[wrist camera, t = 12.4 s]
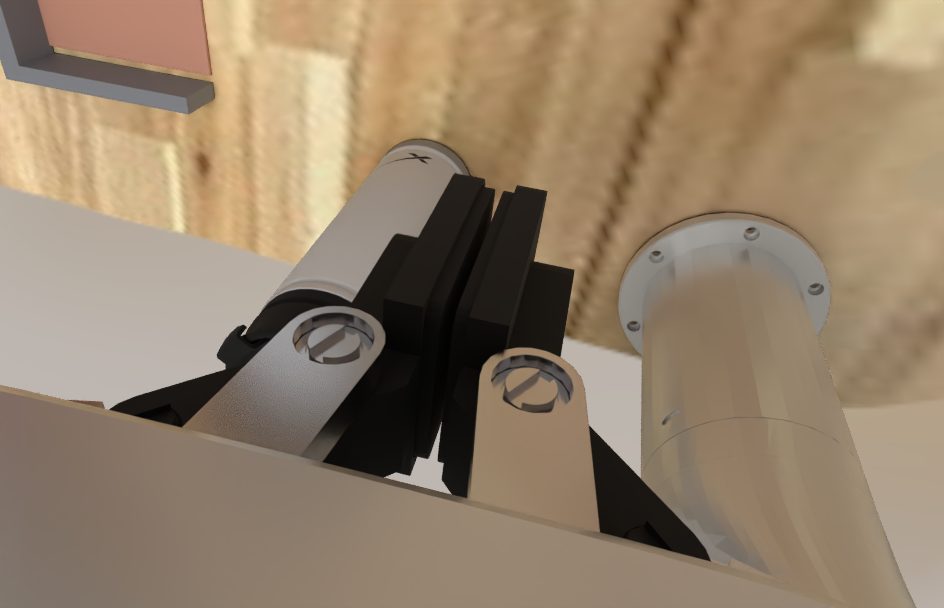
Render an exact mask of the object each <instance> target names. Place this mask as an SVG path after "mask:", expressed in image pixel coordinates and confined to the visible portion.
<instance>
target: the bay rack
mask: <svg viewBox="0 0 944 608" xmlns="http://www.w3.org/2000/svg"><path fill="white" fill-rule="evenodd" d="M53 46H55V47H60V48H65V49H71V50H76V51H81V52H87V53H92V54H97V55H103V56H108V57H113V58H119V59H124V60H130V61H135V62H140V63H146V64H151V65H156V66H162V67H167V68H172V69H178V70H183V71H188V72H194V73H199V74H204V75H212V74H211V66H210V58H209V51H208V43H207V35H206V28H205V20H204V13H203V5H202V0H0V60H1V63H2V66H3V69H4V73H5V76H6V79H10V80H15V81H20V82H25V83H30V84H35V85H40V86H45V87H51V88H56V89H61V90H66V91H71V92H76V93H81V94H87V95H92V96H97V97H102V98H107V99H112V100H117V101H123V102H128V103H133V104H138V105H143V106H148V107H153V108H158V109H164V110H169V111H174V112H179V113H184V114H190V113H192V112H193V111H195V110H197V109H198V108H200V107H201V106H203V105H205V104H206V103H208V102H209V101H211V100H213V99H214V98H215V96H214V89H213V83H212V82H207V81H202V80H196V79H191V78H186V77H180V76H175V75H170V74H164V73H159V72H154V71H148V70H143V69H138V68H133V67H127V66H122V65H117V64H111V63H106V62H101V61H95V60H90V59H85V58H79V57H74V56H69V55H64V54H58V53H54V50H53Z"/></svg>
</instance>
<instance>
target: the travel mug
mask: <svg viewBox="0 0 944 608" xmlns="http://www.w3.org/2000/svg"><path fill="white" fill-rule="evenodd" d="M454 173H457V174H462V175H467V176H470V175H469V173H468V170H467V169H466V167H465V165H464V164H463V162H462V161H461V160H460V159H459V158H458V156H457V155H456V154H454V153H453V152H452V151H451V150H449V149H448V148H446V147H444V146H443V145H441V144H438V143H435V142H433V141H429V140H422V139H418V140H409V141H405V142H402V143H400V144H398V145H396V146H394V147H393V148H392V149H391V150H390V151H388V152H387V154H386V155H385V156H384V157H383V159H382V160H381V161H380V162H379V164H378V165H377V166H376V167H375V169H374V170H373V171H372V172H371V174H370V175H369V176H368V177H367V178H366V180H365V181H364V182H363V183H362V185H361V186H360V187H359V188H358V190H357V191H356V192H355V193H354V195H353V196H352V197H351V198H350V200H349V201H348V202H347V203H346V205H345V206H344V207H343V208H342V210H341V211H340V212H339V213H338V215H337V216H336V217H335V218H334V220H333V221H332V222H331V223H330V224H329V226H328V227H327V228H326V229H325V231H324V232H323V233H322V234H321V236H320V237H319V238H318V239H317V241H316V242H315V243H314V244H313V246H312V247H311V248H310V249H309V251H308V252H307V253H306V254H305V256H304V257H303V258H302V259H301V261H300V262H299V263H298V264H297V266H296V267H295V268H294V269H293V270H292V272H291V273H290V274H289V275H288V277H287V278H286V279H285V280H284V282H283V283H282V284H281V285H280V287H279V288H278V289H277V290H276V292H275V293H274V295H273V296H272V297H271V298H270V299H269V300H268V302H267V303H266V305H265V306H264V307H263V309H262V311H261V313H260V314H259V316H257V318H256V319H255V320H254V321H253V323H252V324H251V325H250V327H249V328H248V330H247V332H246V334H245V335H243V336H241V334H242V333H243V332H244V330H245V329H246V326H245V325H241V326H238V327H237V328H236V329H234V331H232V332H231V333H230V334H229V336H228V337H227V338H226V339H225V341H224V342H223V344H222V346H221V347H220V349H219V351H218V353H217V357H218V359H220V360H221V361H222V362H223V363H225V364H226V369H229V368H232V367H236V366H239V365H242V364H246V363H248V362H249V361H250V360H251V359H252V358H253V357H254V356H255V355H256V354H257V353H258V352H259V351H260V350H261V349H262V348H263V347H264V346H266V345H267V344H268V343H269V342H270V341H271V340H272V339H273V338H274V337H275V336H276V335H277V334H278V333H279V332H280V331H281V330H282V329H283V328H284V327H285V326H286V325H287V324H288V323H289V322H290V321H292V320H293V319H294V318H296V317H297V316H298V315H300V314H302V313H304V312H307V311H310V310H312V309H315V308H321V307H327V306H345V307H349V306H350V304H351V303H352V301H353V299H354V298H355V296H356V295H357V293H358V291H359V290H360V288H361V287H362V285H363V283H364V282H365V280H366V279H367V277H368V275H369V274H370V272H371V271H372V269H373V267H374V266H375V264H376V263H377V261H378V259H379V258H380V256H381V255H382V253H383V251H384V250H385V248H386V247H387V245H388V243H389V242H390V240H391V239H392V237H393V236H394V235H395V234H397V233H400V234H404V235H409V236H414V237H418V236H419V235H420V233H421V231H422V229H423V228H424V226H425V224H426V222H427V220H428V219H429V217H430V215H431V213H432V212H433V210H434V208H435V206H436V204H437V203H438V201H439V199H440V197H441V195H442V194H443V192H444V190H445V188H446V187H447V185H448V183H449V181H450V179H451V178H452V176H453V174H454Z"/></svg>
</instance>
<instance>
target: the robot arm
mask: <svg viewBox="0 0 944 608" xmlns="http://www.w3.org/2000/svg"><path fill="white" fill-rule="evenodd" d="M494 196H495V189H491V188H486V187H485V179H483V178H478V177H473V176H467V175H462V174H457V173H454V174H453V176H452V178H451V179H450V181H449V183H448V185H447V187H446V188H445V190H444V192H443V194H442V195H441V197H440V199H439V201H438V203H437V204H436V206H435V208H434V210H433V212H432V213H431V215H430V217H429V219H428V220H427V222H426V224H425V226H424V228H423V229H422V231H421V233H420V235H419V236H418V237H414V236H409V235H404V234H400V233H397V234H395V235H394V236H393V237H392V239H391V240H390V242H389V243H388V245H387V247H386V248H385V250H384V251H383V253H382V255H381V256H380V258H379V259H378V261H377V263H376V264H375V266H374V267H373V269H372V271H371V272H370V274H369V275H368V277H367V279H366V280H365V282H364V283H363V285H362V287H361V288H360V290H359V291H358V293H357V295H356V296H355V298H354V299H353V301H352V303H351V304H350V306H349V307H345V306H327V307H321V308H315V309H312V310H310V311H307V312H304V313H302V314H300V315H298V316H297V317H296V318H294V319H293V320H292V321H290V322H289V323H288V324H287V325H286V326H285V327H284V328H283V329H282V330H281V331H280V332H279V333H278V334H277V335H276V336H275V337H274V338H273V339H272V340H271V341H270V342H269V343H268V344H267V345H266V346H264V347H263V348H262V349H261V350H260V351H259V352H258V353H257V354H256V355H255V356H254V357H253V358H252V359H251V360H250V361H249V362H248V363H246V364H242V365H239V366H236V367H232V368H229V369H226V370H223V371H219V372H216V373H212V374H209V375H205V376H202V377H199V378H195V379H192V380H189V381H185V382H182V383H179V384H175V385H172V386H169V387H165V388H162V389H158V390H155V391H152V392H149V393H145V394H142V395H138V396H135V397H133V398H130V399H128V400H126V401H123V402H121V403H118V404H117V405H115V406H114V407H112V408H111V409H109V410H107V409H105V408H104V405H103V402H98V401H97V402H96V401H79V400H64V399H60V398H56V397H51V396H47V395H42V394H39V393H34V392H30V391H26V390H21V389H17V388H12V387H7V386H2V385H0V608H916V606H915V604H914V602H913V600H912V598H911V595H910V593H909V591H908V589H907V587H906V585H905V582H904V580H903V578H902V575H901V573H900V570H899V568H898V565H897V562H896V560H895V557H894V555H893V552H892V549H891V547H890V544H889V542H888V539H887V536H886V534H885V531H884V529H883V526H882V524H881V521H880V519H879V516H878V513H877V510H876V507H875V504H874V501H873V498H872V496H871V493H870V490H869V487H868V484H867V481H866V478H865V475H864V473H863V470H862V467H861V463H860V461H859V457H858V454H857V451H856V449H855V445H854V443H853V440H852V437H851V434H850V431H849V428H848V425H847V422H846V419H845V416H844V413H843V410H842V407H841V404H840V401H839V398H838V395H837V392H836V389H835V386H834V384H833V381H832V378H831V375H830V372H829V369H828V366H827V363H826V360H825V357H824V354H823V351H822V348H821V345H820V342H819V339H818V335H819V333H820V332H821V331H822V329H823V327H824V324H825V322H826V319H827V317H828V315H829V309H830V303H831V291H830V281H829V279H828V276H827V273H826V270H825V267H824V265H823V263H822V261H821V260H820V258H819V256H818V254H817V252H816V251H815V250H814V249H813V247H812V246H811V245H810V244H809V243H808V242H807V241H806V240H805V239H804V238H803V237H802V236H800V235H799V234H797V233H796V232H795V231H793V230H792V229H790V228H789V227H787V226H785V225H782V224H780V223H778V222H776V221H773V220H771V219H768V218H764V217H760V216H755V215H751V214H741V213H719V214H708V215H703V216H699V217H695V218H692V219H688V220H685V221H682V222H680V223H678V224H675V225H673V226H671V227H669V228H666V229H665V230H663V231H662V232H660V233H659V234H657V235H656V236H654V237H653V238H651V239H650V240H649V241H648V242H647V243H646V244H645V245H644V246H643V247H642V248H641V249H640V250H638V251H637V253H636V254H635V256H634V257H633V258H632V260H631V261H630V263H629V264H628V265H627V268H626V270H625V272H624V275H623V277H622V280H621V284H620V290H619V295H618V312H619V318H620V323H621V326H622V328H623V331H624V333H625V335H626V338H627V339H628V340H629V342H630V343H631V345H632V346H633V347H634V349H635V350H636V351H637V352H638V353H639V354H640V355H641V356H642V409H641V410H642V414H641V478H640V477H639V476H638V475H637V474H636V473H635V472H634V471H633V470H632V469H631V468H630V467H629V466H628V465H627V464H626V463H625V462H624V461H623V460H622V459H621V458H620V457H619V456H618V455H617V454H616V453H615V452H614V451H613V450H612V449H611V447H610V446H608V445H607V443H606V442H605V441H604V440H603V439H602V438H601V437H600V436H599V435H598V434H597V433H596V432H595V431H594V430H593V429H592V428H591V427H590V426H589V424H588V414H587V405H586V395H585V388H584V385H583V382H582V379H581V376H580V375H579V374H578V373H577V371H576V370H575V369H574V367H573V366H571V365H570V364H569V363H567V362H566V361H565V360H563V359H562V358H561V357H560V356H561V350H562V344H563V338H564V332H565V326H566V320H567V314H568V308H569V301H570V295H571V289H572V283H573V277H574V270H573V269H568V268H563V267H558V266H554V265H549V264H544V263H539V262H534V258H535V253H536V248H537V243H538V238H539V233H540V227H541V222H542V217H543V212H544V207H545V202H546V196H547V191H544V190H539V189H534V188H529V187H524V186H518V185H517V187H516V189H515V192H514V193H512V192H507V191H503V194H502V196H501V199H500V201H499V204H498V206H497V209H496V211H495V214H494V216H493V219H492V221H491V218H492V211H493V204H494ZM748 228H753V229H751V230H747V229H748ZM654 251H659V252H657V253H655V252H654ZM441 422H442V426H441V434H440V443H439V451H438V462H442V463H444V466H443V474H442V481H443V482H444V484H445V485H446V487H447V488H448V490H449V491H450V492H451V494H452V495H451V494H447V493H443V492H439V491H435V490H431V489H427V488H423V487H419V486H415V485H411V484H407V483H403V482H398V481H395V480H391V479H387V478H384V477H386V476H388V475H391V474H393V473H395V472H397V473H401V474H405V475H409V476H410V475H411V472H412V469H413V466H414V464H415V461H416V458H417V457H421V458H426V459H428V458H429V456H430V453H431V451H432V448H433V445H434V442H435V439H436V436H437V433H438V431H439V427H440V425H441Z"/></svg>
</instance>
